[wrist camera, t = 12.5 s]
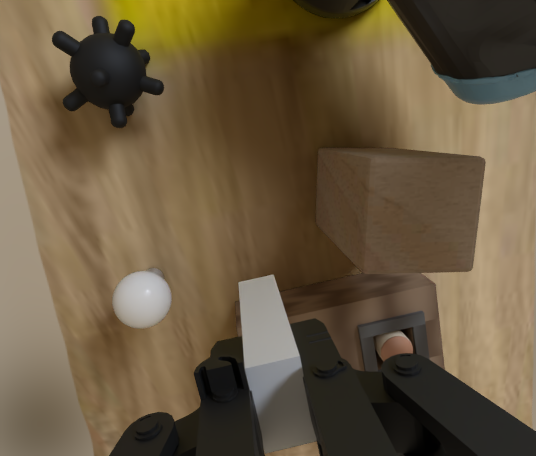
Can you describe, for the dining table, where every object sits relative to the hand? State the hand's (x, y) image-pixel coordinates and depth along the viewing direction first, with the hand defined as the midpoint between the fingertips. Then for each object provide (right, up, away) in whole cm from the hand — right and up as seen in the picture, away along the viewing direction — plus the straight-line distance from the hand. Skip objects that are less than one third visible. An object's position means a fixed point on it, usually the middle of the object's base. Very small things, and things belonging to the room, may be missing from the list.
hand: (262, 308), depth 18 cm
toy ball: (-17, +21, +31) cm, 41 cm away
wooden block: (+11, +9, +37) cm, 40 cm away
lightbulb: (-14, -3, +37) cm, 40 cm away
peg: (+15, -9, +41) cm, 44 cm away
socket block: (+9, -11, +41) cm, 43 cm away
